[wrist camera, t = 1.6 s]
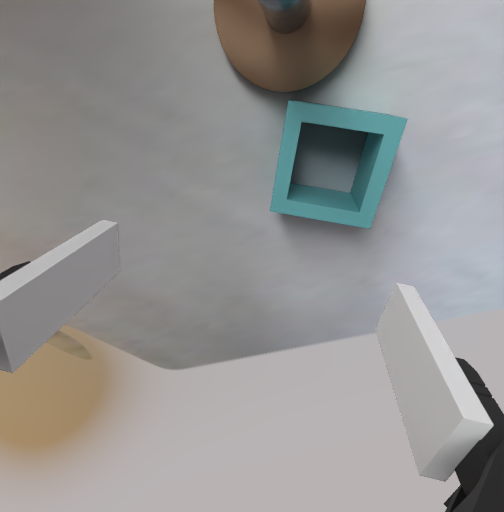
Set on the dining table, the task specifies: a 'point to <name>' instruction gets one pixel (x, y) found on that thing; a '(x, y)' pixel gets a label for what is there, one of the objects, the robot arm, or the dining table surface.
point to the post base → (287, 42)
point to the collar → (367, 176)
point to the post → (285, 14)
